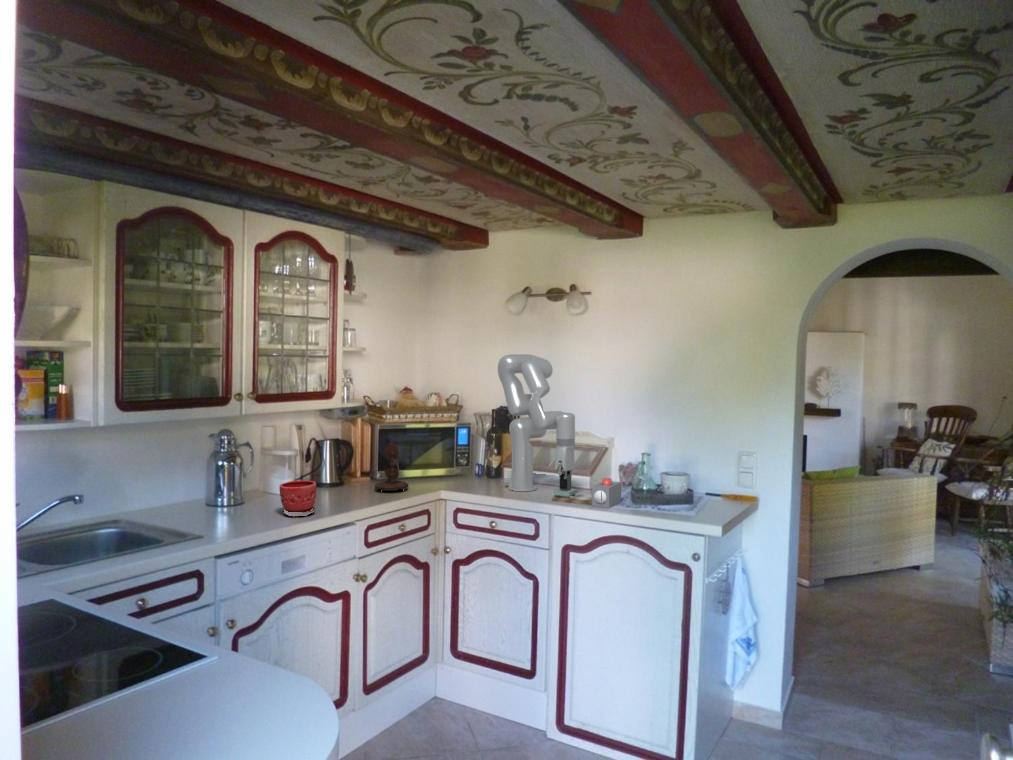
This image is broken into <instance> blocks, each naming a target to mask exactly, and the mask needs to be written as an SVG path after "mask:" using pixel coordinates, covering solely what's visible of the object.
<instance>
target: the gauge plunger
mask: <svg viewBox="0 0 1013 760" xmlns="http://www.w3.org/2000/svg"><path fill="white" fill-rule="evenodd" d="M601 482H602V485H608V486H611V482H613V480H612V478H608V477H607V478H606V477H605V478H602V479H601Z"/></svg>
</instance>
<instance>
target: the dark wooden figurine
mask: <svg viewBox="0 0 1013 760" xmlns="http://www.w3.org/2000/svg"><path fill="white" fill-rule="evenodd" d="M384 447H385V448H384V455H385V456H386V458H387V459H388V463H389V465H387V466H386V467H385V468H384V474H385V477H386V478H387V480H383V481H382V480H381V481H378V482H377V483H375V484H374V487H375V488H376V489H375V488H374V489H375V490H378V489H381V490H383V491H399V490H398V489H401V490H402V489H404V488H406V489H408V488H409V487H408V486H409V483H408V482H406V481H404V480H398V479H399V477H400V467H399V459H398V455H399V449H398V447H397V446H396V445H395V444H393V443H390V444H387V445H386V446H384ZM395 461H396V466H397V467H396V466H395ZM407 487H408V488H407Z"/></svg>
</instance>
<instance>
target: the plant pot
mask: <svg viewBox="0 0 1013 760" xmlns="http://www.w3.org/2000/svg"><path fill="white" fill-rule="evenodd" d="M279 495H280V502H281V505H282V506H283V508H284V509H285V510H286V511H288V512H303V513H307V511H308V512H312V511H314V510H315V511H316V508H315V507H314V505H315V503H316V499H317V482H316V481H314V480H307V479H306V480H305V479H302V480H291V481H286V482H283V483H281V484H279ZM312 508H313V510H312V511H310V510H311V509H312ZM284 509H283V510H284Z"/></svg>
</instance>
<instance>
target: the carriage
mask: <svg viewBox="0 0 1013 760" xmlns="http://www.w3.org/2000/svg"><path fill="white" fill-rule="evenodd" d="M566 479H567V489H563V488H560V487H559V488H557V489H555V490H553V493H552V494H553V496H554V495H561V496H571V495H573V494H578V489H577V488H572V477H571V474H567V477H566Z"/></svg>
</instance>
